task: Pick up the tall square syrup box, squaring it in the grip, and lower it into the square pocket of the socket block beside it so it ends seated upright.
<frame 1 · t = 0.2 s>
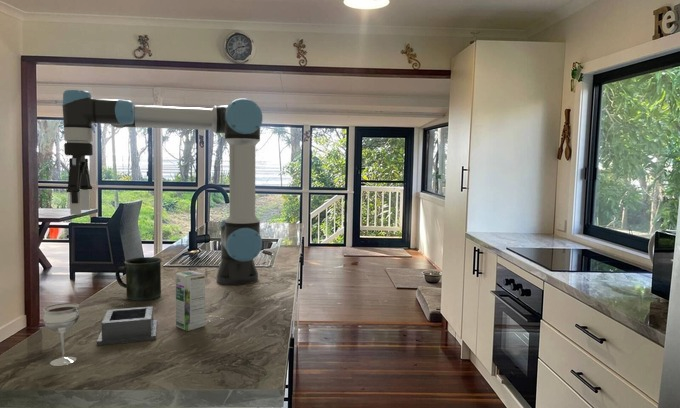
hand: (80, 212, 146), 28 cm above the worktop, fingers open, 13 cm apart
wineglass: (63, 361, 104), on the worktop
mug: (139, 297, 154), on the worktop
socket block: (129, 333, 121), on the worktop
syrup box: (190, 327, 127), on the worktop
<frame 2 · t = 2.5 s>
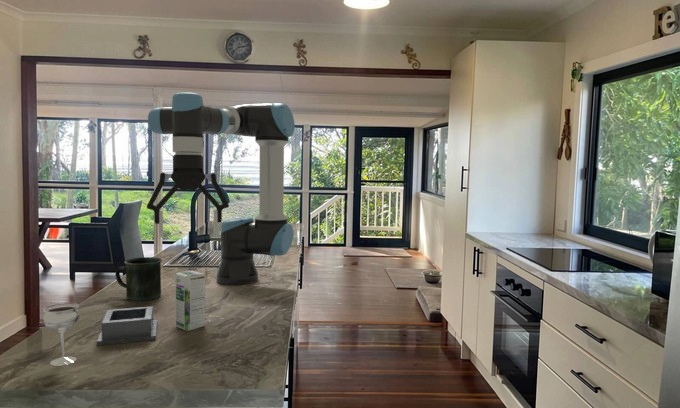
hand: (189, 235, 125), 24 cm above the worktop, fingers open, 13 cm apart
nothing on the worktop moved.
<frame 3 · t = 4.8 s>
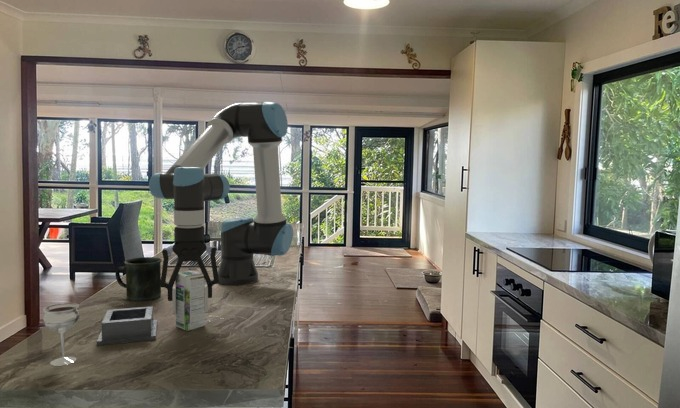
hand: (190, 311, 126), 4 cm above the worktop, fingers closed on syrup box, 7 cm apart
syrup box: (190, 327, 127), on the worktop, touching gripper
everything else where it was.
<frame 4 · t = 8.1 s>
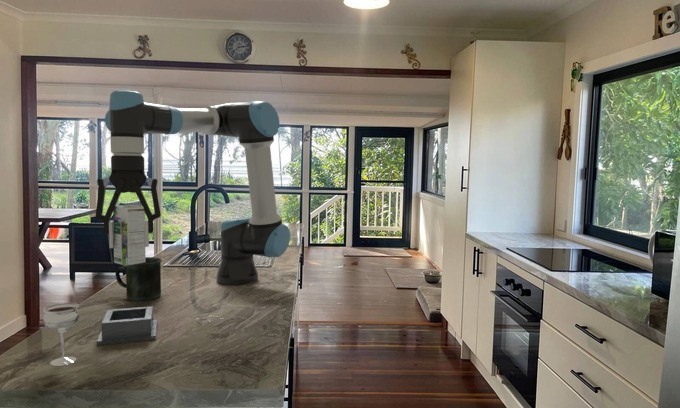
hand: (129, 246, 119), 22 cm above the worktop, fingers closed on syrup box, 7 cm apart
syrup box: (130, 263, 119), point 18 cm above the worktop, touching gripper
everything else where it was.
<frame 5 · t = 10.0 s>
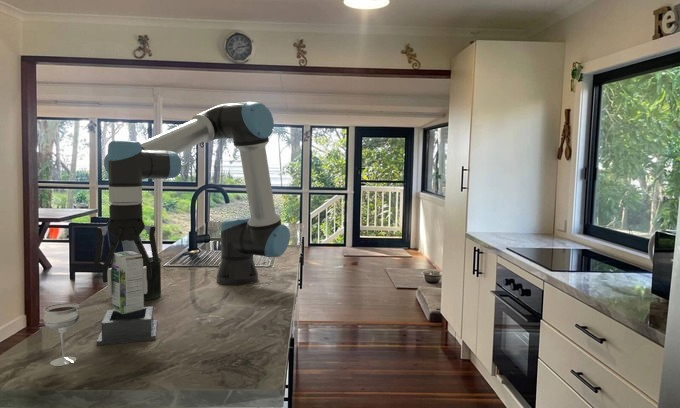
hand: (128, 293, 120), 10 cm above the worktop, fingers closed on syrup box, 7 cm apart
syrup box: (128, 310, 120), point 6 cm above the worktop, touching gripper
everything else where it was.
when the fingers open (7 cm above the worktop, at t = 11.5 s): syrup box drops 2 cm, resting on socket block.
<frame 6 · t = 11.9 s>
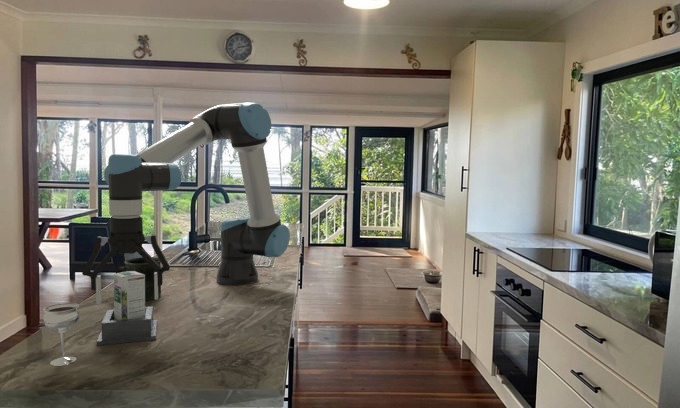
hand: (128, 300, 120), 9 cm above the worktop, fingers open, 13 cm apart
syrup box: (130, 330, 121), point 1 cm above the worktop, touching socket block
everything else where it was.
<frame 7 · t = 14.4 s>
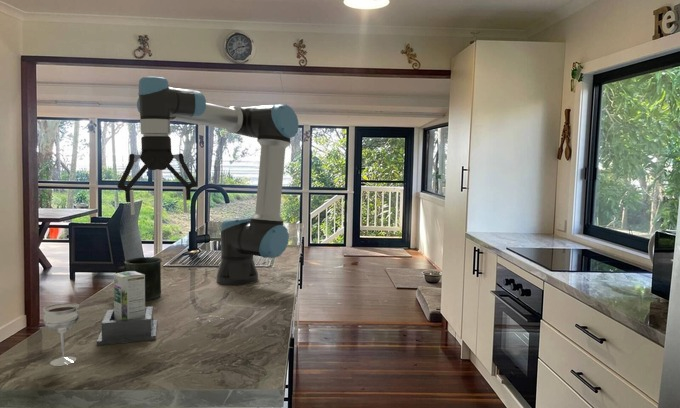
hand: (159, 213, 131), 29 cm above the worktop, fingers open, 13 cm apart
nothing on the worktop moved.
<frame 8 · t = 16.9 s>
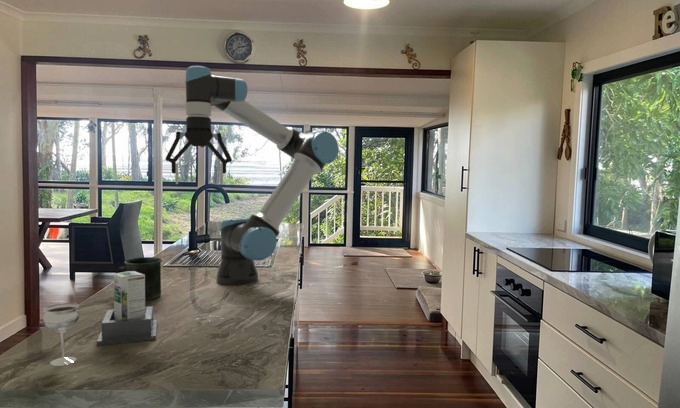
hand: (199, 184, 152), 37 cm above the worktop, fingers open, 13 cm apart
nothing on the worktop moved.
at the end: syrup box 0.3 cm off-centre on the socket block, point 0.8 cm above the socket block's base; syrup box tilted 0°; the gripper is holding nothing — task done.
